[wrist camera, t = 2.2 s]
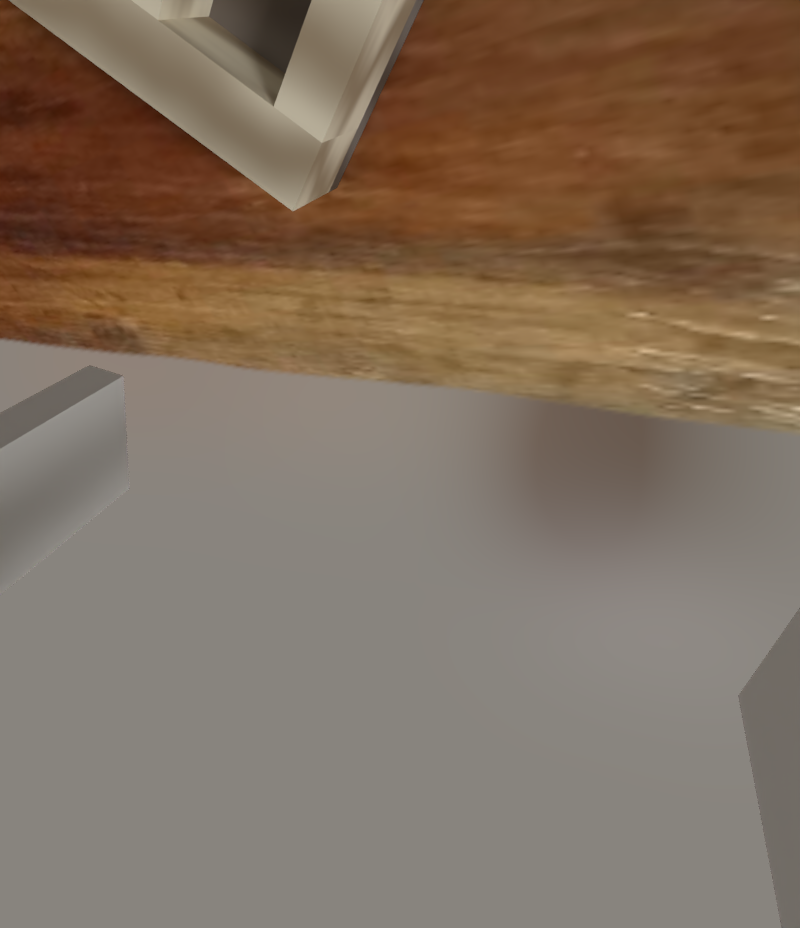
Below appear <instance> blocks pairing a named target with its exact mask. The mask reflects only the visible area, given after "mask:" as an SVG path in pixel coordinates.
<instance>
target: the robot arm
mask: <svg viewBox="0 0 800 928" xmlns="http://www.w3.org/2000/svg"><path fill="white" fill-rule="evenodd" d="M128 489H129V472H128V453H127V434H126V415H125V396H124V376H122V375H119V374H116V373H113V372H110V371H106V370H103V369H100V368H97V367H93V366H90V365H89V366H87V367H85V368H83V369H81V370H80V371H78V372H76V373H74V374H72V375H70V376H68V377H67V378H65V379H63V380H61V381H59V382H57V383H55V384H53V385H52V386H50V387H48V388H46V389H44V390H42V391H40V392H39V393H36V394H35V395H33V396H31V397H29V398H27V399H25V400H24V401H22V402H20V403H18V404H16V405H14V406H12V407H10V408H8V409H7V410H5V411H3V412H1V413H0V595H1V594H2V593H3V592H5V591H6V590H7V589H8V588H10V587H11V586H12V585H13V584H14V583H15V582H17V581H18V580H19V579H20V578H22V577H23V576H24V575H25V574H27V573H28V572H29V571H30V570H31V569H33V568H34V567H35V566H36V565H37V564H39V563H40V562H41V561H42V560H43V559H45V558H46V557H47V556H48V555H50V554H51V553H52V552H53V551H54V550H56V549H57V548H58V547H59V546H60V545H62V544H63V543H64V542H65V541H66V540H67V539H69V538H70V537H71V536H72V535H74V533H76V532H77V531H78V530H80V529H81V528H82V527H83V526H85V525H86V524H87V523H88V522H89V521H91V520H92V519H93V518H94V517H95V516H97V515H98V514H99V513H100V512H101V511H103V510H104V509H105V508H106V507H108V505H110V504H111V503H112V502H113V501H115V500H116V499H117V498H118V497H120V496H121V495H122V494H123V493H124V492H125V491H127V490H128ZM738 697H739V702H740V708H741V713H742V718H743V724H744V729H745V734H746V740H747V745H748V750H749V756H750V761H751V767H752V772H753V777H754V783H755V788H756V793H757V798H758V804H759V809H760V815H761V820H762V825H763V831H764V836H765V841H766V847H767V852H768V858H769V862H770V868H771V874H772V879H773V884H774V890H775V895H776V900H777V906H778V911H779V916H780V922H781V927H782V928H800V608H799V610H798V611H797V613H796V614H795V615H794V617H793V618H792V620H791V621H790V623H789V624H788V625H787V627H786V628H785V630H784V631H783V633H782V634H781V636H780V637H779V638H778V640H777V641H776V643H775V644H774V646H773V647H772V648H771V650H770V651H769V653H768V654H767V655H766V657H765V658H764V660H763V661H762V663H761V664H760V666H759V667H758V669H757V670H756V671H755V673H754V674H753V675H752V677H751V679H750V680H749V681H748V683H747V684H746V686H745V687H744V688H743V690H742V691H741V693H740V694H739V695H738Z"/></svg>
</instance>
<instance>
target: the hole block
mask: <svg viewBox="0 0 800 928" xmlns="http://www.w3.org/2000/svg"><path fill="white" fill-rule="evenodd" d="M9 1H10V2H12V3H13V4H14V5H16V6H17V7H18V8H20V9H21V10H22V11H24V12H25V13H27V14H28V15H29V16H31V17H32V18H33V19H35V20H36V21H37V22H39V23H40V24H41V25H43V26H44V27H45V28H47V29H48V30H49V31H51V32H52V33H53V34H55V35H56V36H57V37H59V38H60V39H62V40H63V41H64V42H66V43H67V44H68V45H70V46H71V47H72V48H74V49H75V50H76V51H78V52H79V53H80V54H82V55H83V56H84V57H86V58H87V59H88V60H90V61H91V62H93V63H94V64H95V65H97V66H98V67H99V68H101V69H102V70H103V71H105V72H106V73H107V74H109V75H110V76H111V77H113V78H114V79H115V80H117V81H118V82H119V83H121V84H122V85H123V86H125V87H126V88H128V89H129V90H130V91H132V92H133V93H134V94H136V95H137V96H138V97H140V98H141V99H142V100H144V101H145V102H146V103H148V104H149V105H150V106H152V107H153V108H154V109H156V110H157V111H159V112H160V113H161V114H163V115H164V116H165V117H167V118H168V119H169V120H171V121H172V122H173V123H175V124H176V125H177V126H179V127H180V128H181V129H183V130H184V131H185V132H187V133H188V134H189V135H191V136H192V137H194V138H195V139H196V140H198V141H199V142H200V143H202V144H203V145H204V146H206V147H207V148H208V149H210V150H211V151H212V152H214V153H215V154H216V155H218V156H219V157H220V158H222V159H223V160H225V161H226V162H227V163H229V164H230V165H231V166H233V167H234V168H235V169H237V170H238V171H239V172H241V173H242V174H243V175H245V176H246V177H247V178H249V179H250V180H251V181H253V182H254V183H255V184H257V185H258V186H260V187H261V188H262V189H264V190H265V191H266V192H268V193H269V194H270V195H272V196H273V197H274V198H276V199H277V200H278V201H280V202H281V203H282V204H284V205H285V206H286V207H288V208H289V209H290V210H292V211H295V210H296V209H298V208H300V207H302V206H304V205H306V204H308V203H309V202H311V201H313V200H315V199H317V198H319V197H321V196H322V195H324V194H326V193H328V192H330V191H332V190H334V189H335V188H337V186H338V184H339V182H340V180H341V178H342V175H343V173H344V171H345V169H346V167H347V165H348V163H349V160H350V158H351V156H352V154H353V152H354V150H355V147H356V145H357V143H358V141H359V139H360V137H361V134H362V132H363V130H364V128H365V126H366V124H367V121H368V119H369V117H370V115H371V113H372V111H373V108H374V106H375V104H376V102H377V100H378V98H379V95H380V93H381V91H382V89H383V87H384V85H385V83H386V80H387V78H388V76H389V74H390V72H391V70H392V67H393V65H394V63H395V61H396V59H397V57H398V54H399V52H400V50H401V48H402V46H403V44H404V41H405V39H406V37H407V35H408V33H409V31H410V28H411V26H412V24H413V22H414V20H415V18H416V15H417V13H418V11H419V9H420V7H421V5H422V3H423V0H9Z"/></svg>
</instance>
